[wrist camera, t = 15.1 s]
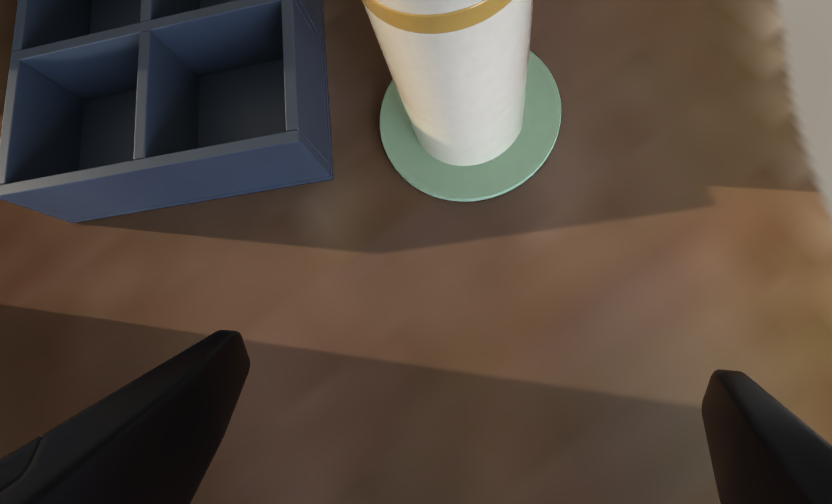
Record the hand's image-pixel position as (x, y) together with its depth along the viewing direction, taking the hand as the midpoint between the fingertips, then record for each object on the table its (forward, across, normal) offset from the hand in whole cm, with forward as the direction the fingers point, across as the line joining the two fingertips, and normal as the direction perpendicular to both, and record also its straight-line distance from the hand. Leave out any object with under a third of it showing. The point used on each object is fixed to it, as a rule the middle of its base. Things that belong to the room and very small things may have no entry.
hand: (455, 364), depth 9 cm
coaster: (+18, +2, 0) cm, 18 cm away
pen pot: (+17, +2, 0) cm, 17 cm away
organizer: (+20, +17, -1) cm, 26 cm away
